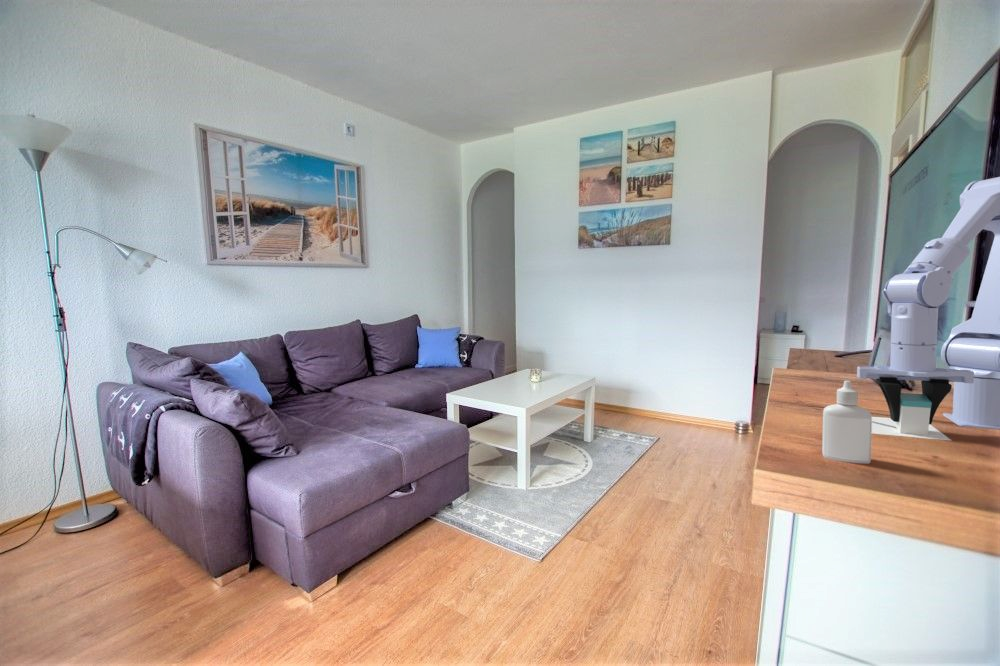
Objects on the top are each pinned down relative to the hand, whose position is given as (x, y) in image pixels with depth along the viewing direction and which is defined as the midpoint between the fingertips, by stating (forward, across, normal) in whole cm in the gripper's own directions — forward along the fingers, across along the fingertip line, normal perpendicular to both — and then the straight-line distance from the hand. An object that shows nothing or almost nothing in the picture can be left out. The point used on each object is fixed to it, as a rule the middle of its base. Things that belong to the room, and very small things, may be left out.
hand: (910, 421), depth 75 cm
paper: (+2, -2, +2) cm, 4 cm away
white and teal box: (+1, 0, 0) cm, 1 cm away
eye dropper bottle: (+2, -12, -19) cm, 22 cm away
